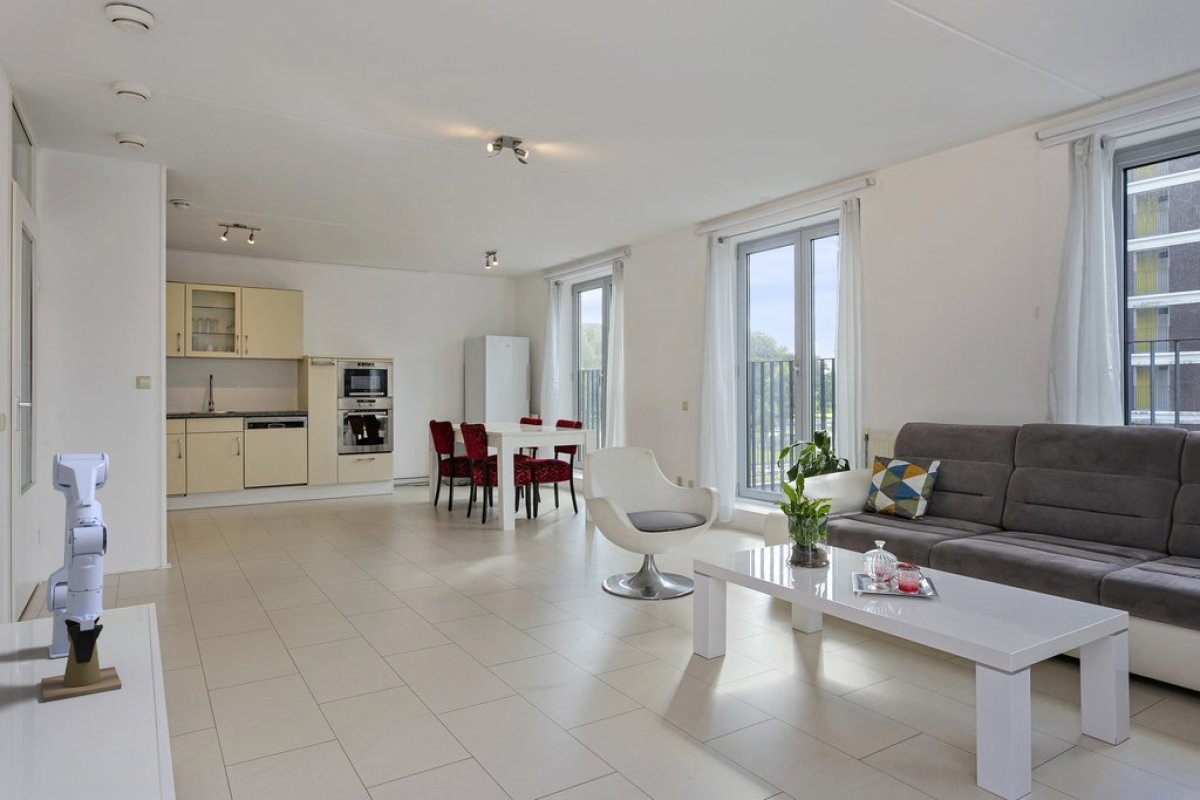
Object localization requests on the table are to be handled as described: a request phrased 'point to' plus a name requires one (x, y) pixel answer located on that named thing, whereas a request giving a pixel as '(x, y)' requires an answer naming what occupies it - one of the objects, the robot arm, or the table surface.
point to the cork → (81, 668)
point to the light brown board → (57, 691)
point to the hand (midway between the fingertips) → (82, 658)
